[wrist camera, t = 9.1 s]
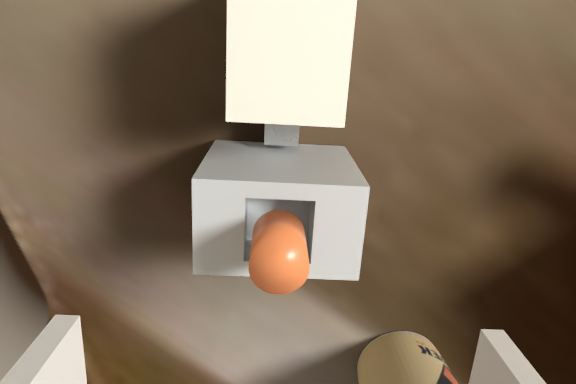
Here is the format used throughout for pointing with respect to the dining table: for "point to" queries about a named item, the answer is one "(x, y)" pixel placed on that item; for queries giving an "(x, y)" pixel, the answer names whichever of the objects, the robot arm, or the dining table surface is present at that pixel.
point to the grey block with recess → (278, 205)
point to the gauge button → (279, 253)
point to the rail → (281, 135)
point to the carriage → (289, 61)
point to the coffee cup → (402, 361)
